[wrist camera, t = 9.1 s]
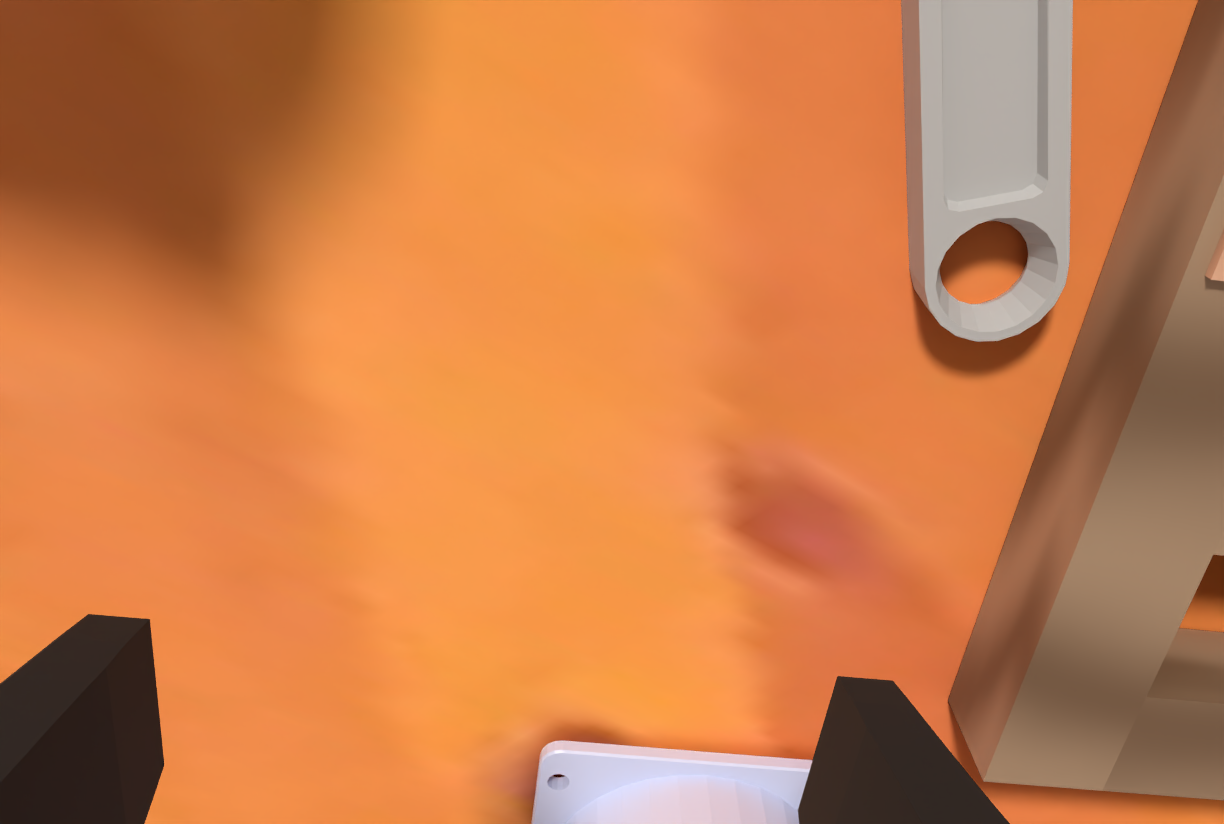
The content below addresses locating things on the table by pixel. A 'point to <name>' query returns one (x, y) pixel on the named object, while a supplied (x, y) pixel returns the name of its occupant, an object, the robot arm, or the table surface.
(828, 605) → the table surface
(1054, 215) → the adjustable wrench
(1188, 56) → the dock board
